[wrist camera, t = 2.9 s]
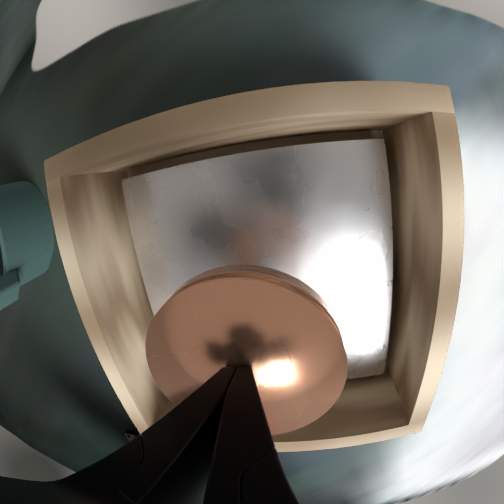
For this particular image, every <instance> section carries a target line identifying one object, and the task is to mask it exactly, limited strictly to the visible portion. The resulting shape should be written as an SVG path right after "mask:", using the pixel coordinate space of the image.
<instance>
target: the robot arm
mask: <svg viewBox="0 0 504 504" xmlns="http://www.w3.org/2000/svg"><path fill="white" fill-rule="evenodd" d="M124 435H125V436H126V438H127V439H128V441H129V442H128V443H127V444H125V445H124V446H122V447H121V448H119V449H118V450H116V451H115V452H113V453H111V454H110V455H108V456H106V457H105V458H103V459H101V460H99V461H97V462H96V463H94V464H92V465H90V466H88V467H86V468H84V469H82V470H80V471H78V472H76V473H74V474H72V475H70V476H68V477H65V478H64V479H60V480H56V481H49V482H40V481H30V480H22V479H14V478H8V477H2V476H0V504H300V502H299V501H298V499H297V497H296V495H295V494H294V492H293V490H292V488H291V486H290V484H289V482H288V480H287V478H286V476H285V473H284V471H283V468H282V465H281V463H280V460H279V457H278V453H277V450H276V448H275V444H274V441H273V438H272V435H271V431H270V428H269V425H268V421H267V418H266V415H265V411H264V408H263V404H262V401H261V397H260V394H259V391H258V387H257V384H256V380H255V377H254V373H253V369H252V367H238V368H236V367H223V368H221V369H220V370H219V371H218V372H216V373H215V374H214V375H213V376H212V377H211V378H209V379H208V380H207V381H206V382H205V383H204V384H202V385H201V386H200V387H199V388H198V389H196V390H195V391H194V392H193V393H192V394H190V395H189V396H188V397H187V398H185V399H184V400H183V401H182V402H181V403H179V404H178V405H177V406H176V407H174V408H173V409H172V410H171V411H169V412H168V413H167V414H165V415H164V416H163V417H162V418H160V419H159V420H158V421H156V422H155V423H154V424H153V425H151V426H150V427H149V428H147V429H146V430H145V431H143V432H142V433H141V434H139V433H134V432H130V431H126V432H125V434H124Z"/></svg>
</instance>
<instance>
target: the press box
mask: <svg viewBox="0 0 504 504" xmlns="http://www.w3.org/2000/svg"><path fill="white" fill-rule="evenodd" d="M365 139H384V141H385V148H386V156H387V164H388V173H389V183H390V195H391V209H392V232H393V281H392V303H391V318H390V330H389V340H388V349H387V357H386V364H385V371H384V374H379V375H373V376H367V377H360V378H353V379H346V382H345V385H344V388H343V390H342V392H341V394H340V396H339V398H338V399H337V401H336V402H335V403H334V405H333V406H332V407H331V408H330V409H329V410H328V411H327V412H326V413H325V414H324V415H322V416H321V417H320V418H318V419H317V420H315V421H314V422H312V423H310V424H308V425H306V426H304V427H302V428H300V429H297V430H294V431H291V432H287V433H282V434H278V435H272V438H273V441H274V444H275V448H276V450H277V452H291V451H309V450H322V449H332V448H340V447H348V446H355V445H361V444H367V443H373V442H378V441H383V440H388V439H392V438H397V437H401V436H405V435H409V434H413V433H416V432H420V431H421V430H422V428H423V425H424V423H425V420H426V418H427V415H428V413H429V410H430V407H431V405H432V402H433V399H434V396H435V393H436V390H437V387H438V384H439V381H440V377H441V374H442V371H443V367H444V363H445V360H446V356H447V352H448V348H449V344H450V339H451V335H452V330H453V325H454V320H455V314H456V309H457V303H458V296H459V289H460V280H461V271H462V260H463V245H464V186H463V171H462V160H461V151H460V143H459V135H458V129H457V123H456V117H455V112H454V107H453V102H452V98H451V93H450V89H449V86H443V85H434V84H425V83H413V82H396V81H339V82H321V83H309V84H298V85H289V86H281V87H274V88H267V89H260V90H254V91H248V92H243V93H237V94H232V95H227V96H223V97H218V98H214V99H209V100H205V101H201V102H197V103H193V104H189V105H185V106H182V107H178V108H175V109H171V110H168V111H164V112H161V113H158V114H155V115H152V116H149V117H146V118H143V119H140V120H137V121H134V122H131V123H128V124H126V125H123V126H120V127H118V128H115V129H112V130H110V131H107V132H105V133H102V134H100V135H98V136H95V137H93V138H91V139H88V140H86V141H84V142H81V143H79V144H77V145H75V146H73V147H71V148H69V149H66V150H64V151H62V152H60V153H58V154H56V155H54V156H52V157H50V158H49V159H47V160H45V161H43V162H44V171H45V179H46V186H47V193H48V199H49V204H50V210H51V215H52V220H53V225H54V229H55V234H56V238H57V242H58V246H59V250H60V254H61V258H62V261H63V265H64V268H65V272H66V275H67V278H68V281H69V284H70V288H71V291H72V294H73V297H74V299H75V302H76V305H77V308H78V311H79V313H80V316H81V318H82V321H83V324H84V326H85V329H86V331H87V333H88V336H89V338H90V341H91V343H92V345H93V347H94V350H95V352H96V354H97V356H98V358H99V361H100V363H101V365H102V367H103V369H104V371H105V373H106V375H107V377H108V379H109V381H110V383H111V385H112V387H113V389H114V390H115V392H116V394H117V396H118V398H119V400H120V401H121V403H122V405H123V407H124V408H125V410H126V412H127V413H128V415H129V417H130V418H131V420H132V422H133V423H134V425H135V426H136V428H137V430H138V431H139V433H140V434H141V433H142V432H143V431H145V430H146V429H147V428H149V427H150V426H151V425H153V424H154V423H155V422H156V421H158V420H159V419H160V418H162V417H163V416H164V415H165V414H167V413H168V412H169V411H171V410H172V409H173V408H174V407H176V406H175V405H174V404H173V403H172V402H171V401H170V400H169V399H168V398H167V397H166V396H165V395H164V394H163V392H162V391H161V390H160V388H159V387H158V385H157V384H156V382H155V380H154V378H153V376H152V374H151V372H150V369H149V366H148V363H147V358H146V349H145V343H146V335H147V332H148V329H149V325H150V323H151V321H152V320H153V318H154V315H153V312H152V309H151V305H150V302H149V299H148V295H147V292H146V288H145V285H144V281H143V278H142V274H141V270H140V266H139V262H138V259H137V254H136V250H135V246H134V242H133V238H132V233H131V229H130V224H129V219H128V214H127V209H126V204H125V199H124V193H123V188H122V182H121V180H123V179H127V178H130V177H134V176H138V175H141V174H145V173H149V172H153V171H157V170H161V169H165V168H169V167H174V166H178V165H182V164H187V163H192V162H196V161H201V160H206V159H211V158H216V157H222V156H227V155H233V154H238V153H244V152H251V151H257V150H264V149H271V148H278V147H286V146H294V145H303V144H312V143H322V142H334V141H348V140H365Z"/></svg>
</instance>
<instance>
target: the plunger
mask: <svg viewBox="0 0 504 504" xmlns="http://www.w3.org/2000/svg"><path fill="white" fill-rule="evenodd" d="M121 182H122V188H123V193H124V199H125V204H126V209H127V214H128V219H129V224H130V229H131V233H132V238H133V242H134V246H135V250H136V254H137V259H138V262H139V266H140V270H141V274H142V278H143V281H144V285H145V288H146V292H147V295H148V299H149V302H150V305H151V309H152V312H153V315H154V318H153V320H152V321H151V323H150V325H149V329H148V332H147V335H146V343H145V349H146V358H147V363H148V366H149V369H150V372H151V374H152V376H153V378H154V380H155V382H156V384H157V385H158V387H159V388H160V390H161V391H162V392H163V394H164V395H165V396H166V397H167V398H168V399H169V400H170V401H171V402H172V403H173V404H174V405H175V406H177V405H178V404H179V403H181V402H182V401H183V400H184V399H185V398H187V397H188V396H189V395H190V394H192V393H193V392H194V391H195V390H196V389H198V388H199V387H200V386H201V385H202V384H204V383H205V382H206V381H207V380H208V379H209V378H211V377H212V376H213V375H214V374H215V373H216V372H218V371H219V370H220V369H221V368H223V367H236V368H238V367H252V369H253V373H254V377H255V380H256V384H257V387H258V391H259V394H260V397H261V401H262V404H263V408H264V411H265V415H266V418H267V421H268V425H269V428H270V431H271V435H278V434H282V433H287V432H291V431H294V430H297V429H300V428H302V427H304V426H306V425H308V424H310V423H312V422H314V421H315V420H317V419H318V418H320V417H321V416H322V415H324V414H325V413H326V412H327V411H328V410H329V409H330V408H331V407H332V406H333V405H334V403H335V402H336V401H337V399H338V398H339V396H340V394H341V392H342V390H343V388H344V385H345V382H346V379H353V378H360V377H367V376H373V375H379V374H384V371H385V364H386V357H387V349H388V340H389V330H390V318H391V303H392V281H393V232H392V209H391V195H390V183H389V173H388V164H387V156H386V148H385V141H384V139H365V140H348V141H334V142H322V143H312V144H303V145H294V146H286V147H278V148H271V149H264V150H257V151H251V152H244V153H238V154H233V155H227V156H222V157H216V158H211V159H206V160H201V161H196V162H192V163H187V164H182V165H178V166H174V167H169V168H165V169H161V170H157V171H153V172H149V173H145V174H141V175H138V176H134V177H130V178H127V179H123V180H121Z"/></svg>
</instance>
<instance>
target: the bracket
mask: <svg viewBox="0 0 504 504" xmlns="http://www.w3.org/2000/svg"><path fill="white" fill-rule="evenodd" d="M53 251H54V230H53V223H52V219H51V215H50V211H49V208H48V206H47V203H46V201H45V199H44V197H43V195H42V194H41V192H40V191H39V189H38V188H37V187H36V186H35V185H33V184H32V183H30V182H27V181H19V182H14V183H8V184H3V185H0V310H2V309H3V308H5V307H7V306H8V305H10V304H11V303H13V302H15V301H16V300H18V296H19V289H20V286H21V285H23V284H25V283H27V282H29V281H30V280H32V279H34V278H36V277H38V276H40V275H42V274H43V273H44V272H46V270H47V269H48V268H49V265H50V261H51V258H52V254H53Z"/></svg>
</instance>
